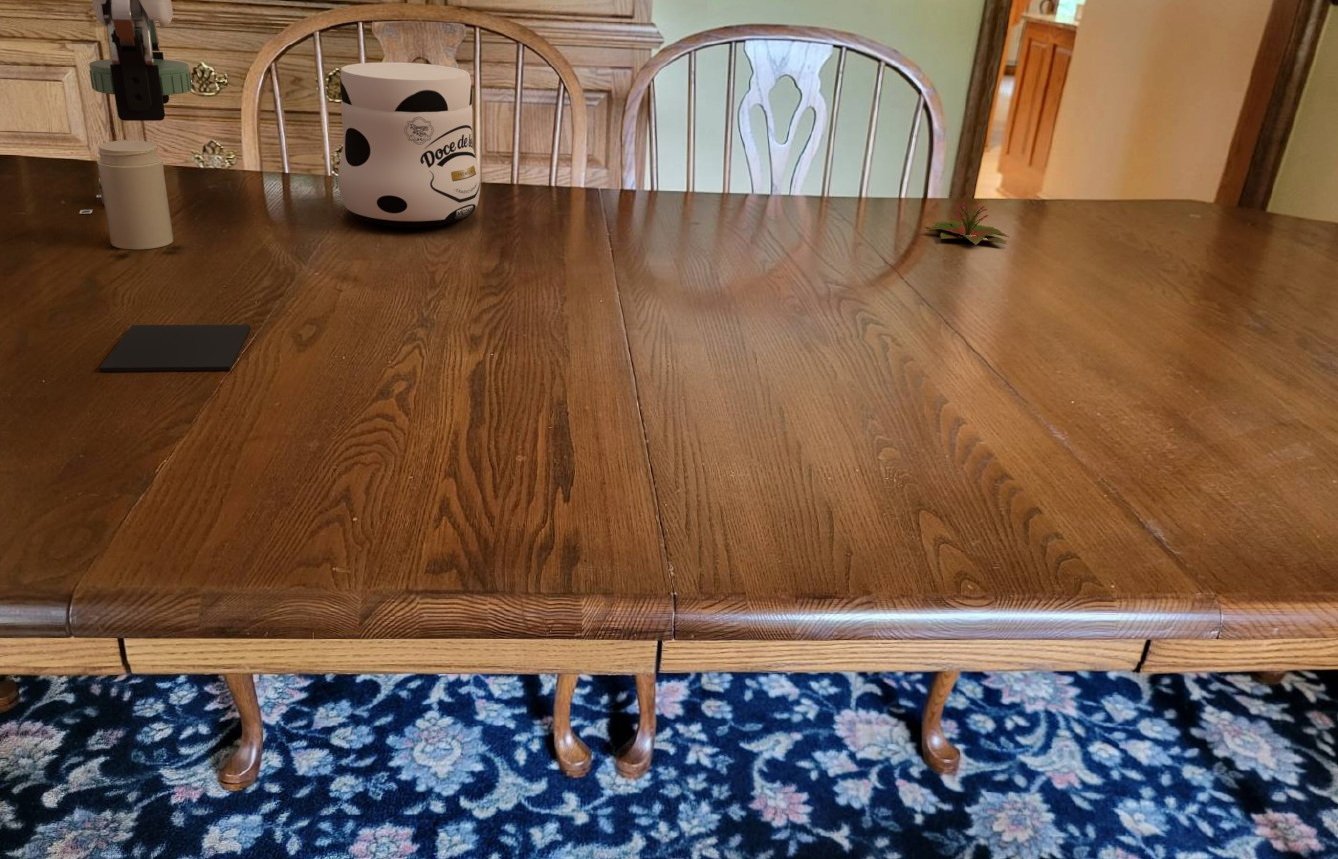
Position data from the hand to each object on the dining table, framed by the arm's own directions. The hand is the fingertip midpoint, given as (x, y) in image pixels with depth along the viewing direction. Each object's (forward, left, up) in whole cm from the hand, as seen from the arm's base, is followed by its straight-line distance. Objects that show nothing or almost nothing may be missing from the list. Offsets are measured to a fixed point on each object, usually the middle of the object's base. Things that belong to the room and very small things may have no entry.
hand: (145, 109), depth 83 cm
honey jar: (-11, +32, -20) cm, 39 cm away
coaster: (0, -1, -20) cm, 20 cm away
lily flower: (+92, +39, -20) cm, 102 cm away
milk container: (+18, +44, -20) cm, 52 cm away
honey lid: (0, 0, +3) cm, 3 cm away
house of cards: (-19, +49, -20) cm, 56 cm away
